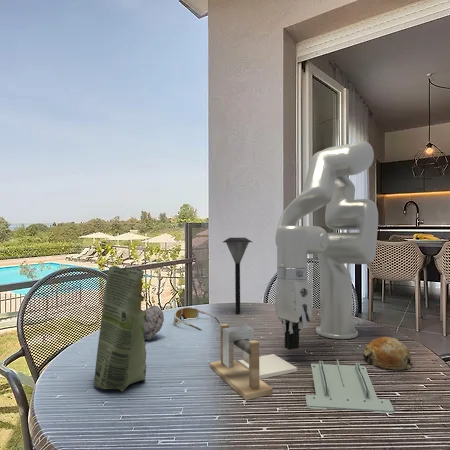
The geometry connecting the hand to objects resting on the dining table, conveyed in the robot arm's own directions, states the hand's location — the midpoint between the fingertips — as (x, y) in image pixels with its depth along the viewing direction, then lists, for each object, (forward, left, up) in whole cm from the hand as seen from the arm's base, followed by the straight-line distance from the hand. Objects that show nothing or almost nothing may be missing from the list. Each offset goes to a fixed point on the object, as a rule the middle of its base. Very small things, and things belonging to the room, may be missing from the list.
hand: (291, 348), depth 86 cm
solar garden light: (-10, -49, -3) cm, 50 cm away
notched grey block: (+17, +5, +1) cm, 18 cm away
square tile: (+8, +2, -3) cm, 9 cm away
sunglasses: (+10, -43, -3) cm, 44 cm away
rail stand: (+17, +5, -3) cm, 18 cm away
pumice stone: (+29, -32, -3) cm, 44 cm away
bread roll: (-20, +12, -3) cm, 23 cm away
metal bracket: (+2, +19, -4) cm, 20 cm away
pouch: (+40, -4, -3) cm, 41 cm away
